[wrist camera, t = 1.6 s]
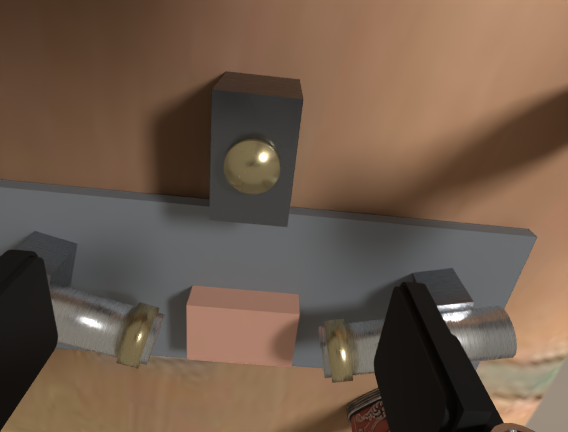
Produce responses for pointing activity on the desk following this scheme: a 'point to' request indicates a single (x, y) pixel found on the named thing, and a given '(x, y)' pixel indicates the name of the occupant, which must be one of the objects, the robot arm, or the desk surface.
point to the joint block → (253, 148)
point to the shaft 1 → (93, 309)
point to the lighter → (368, 414)
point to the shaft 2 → (455, 311)
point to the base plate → (253, 266)
